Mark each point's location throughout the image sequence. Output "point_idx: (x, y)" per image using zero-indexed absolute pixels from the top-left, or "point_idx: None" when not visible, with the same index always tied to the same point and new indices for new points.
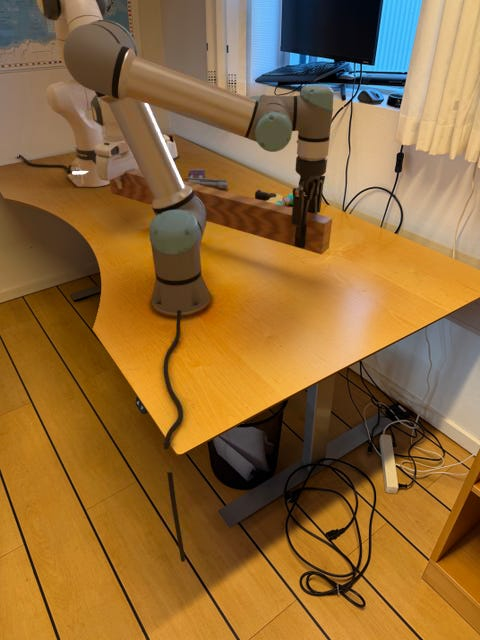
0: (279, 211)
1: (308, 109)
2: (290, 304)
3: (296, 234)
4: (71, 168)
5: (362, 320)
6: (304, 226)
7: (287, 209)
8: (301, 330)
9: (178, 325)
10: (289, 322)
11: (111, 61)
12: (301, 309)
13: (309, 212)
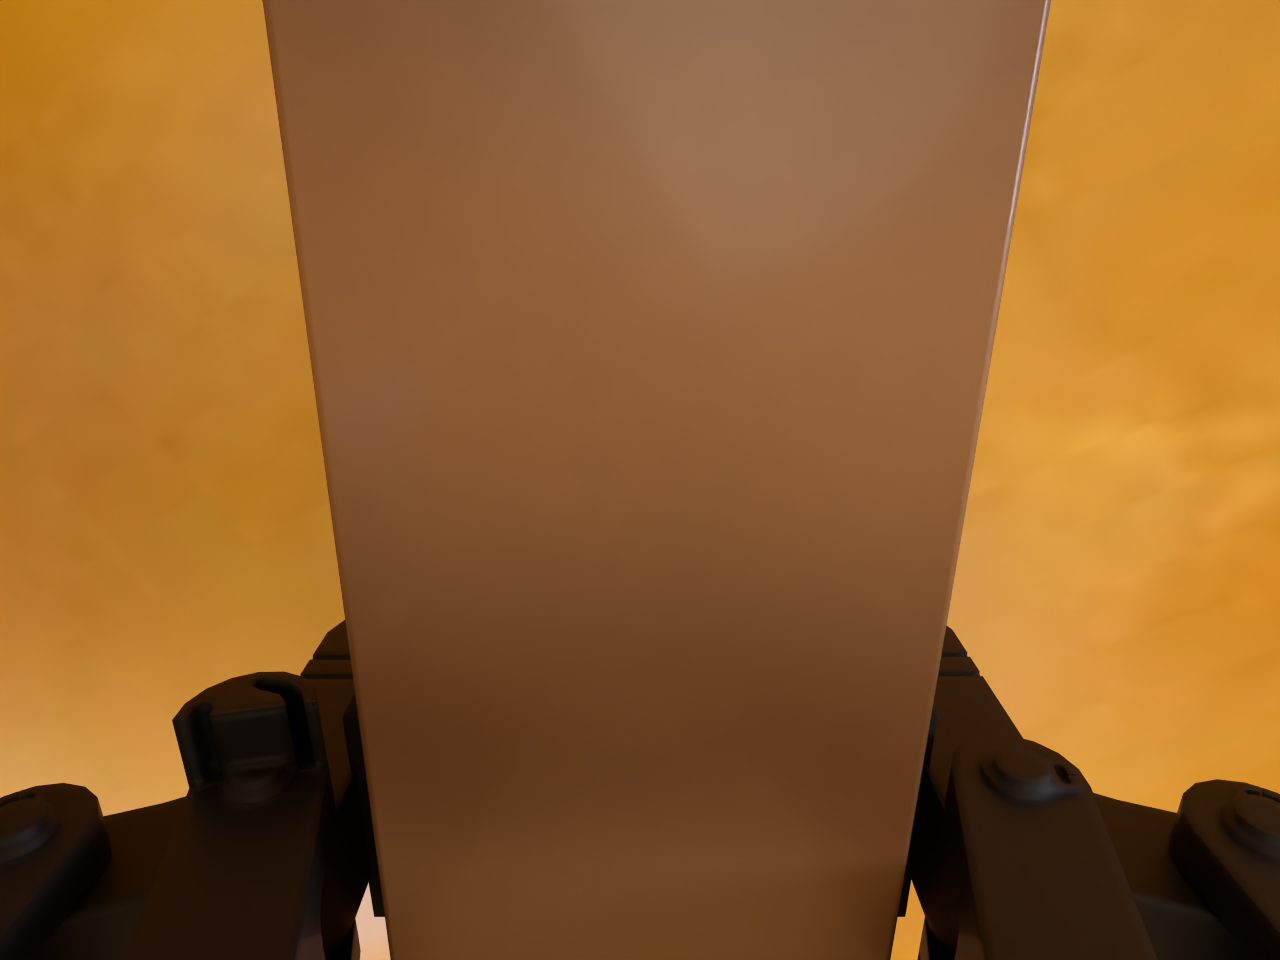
0: (333, 40)
1: None
2: (213, 514)
3: (327, 658)
4: None
5: (385, 940)
6: (372, 892)
7: (733, 252)
8: (16, 713)
9: None
10: (22, 613)
11: None
12: (218, 610)
13: (871, 952)
